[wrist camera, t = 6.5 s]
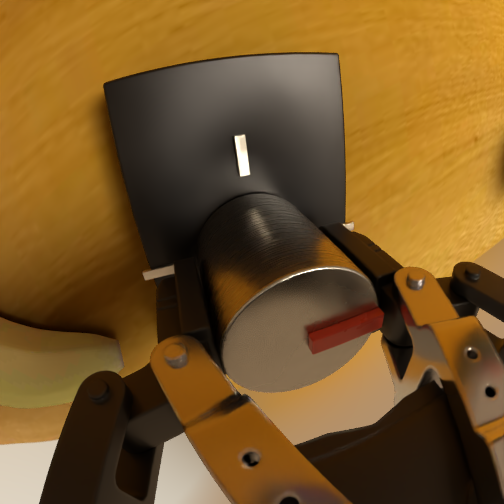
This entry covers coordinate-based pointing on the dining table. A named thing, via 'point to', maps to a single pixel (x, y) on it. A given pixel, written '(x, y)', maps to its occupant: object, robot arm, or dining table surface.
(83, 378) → the banana
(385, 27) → the dining table surface
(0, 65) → the dining table surface
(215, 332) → the stove knob
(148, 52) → the dining table surface
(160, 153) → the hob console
